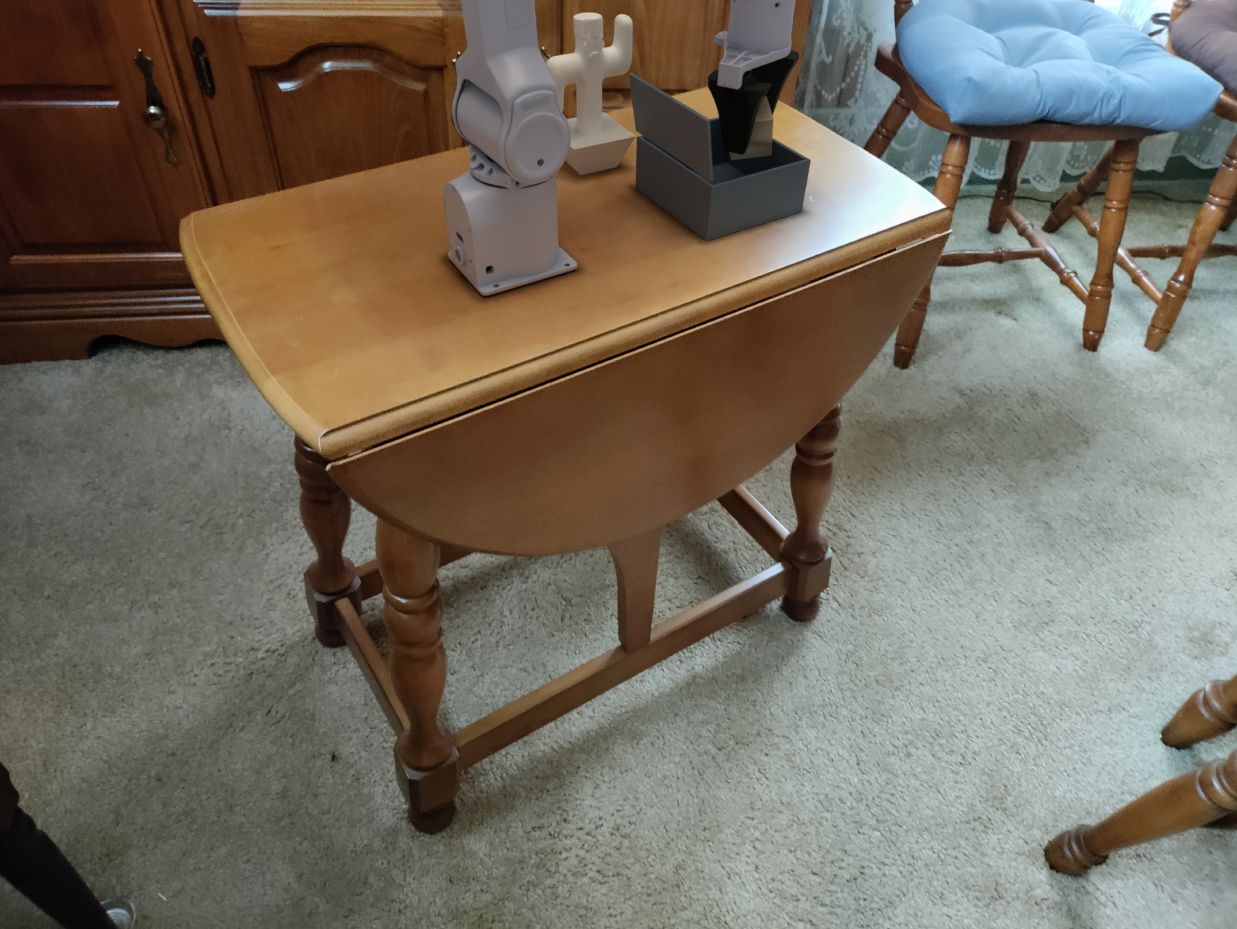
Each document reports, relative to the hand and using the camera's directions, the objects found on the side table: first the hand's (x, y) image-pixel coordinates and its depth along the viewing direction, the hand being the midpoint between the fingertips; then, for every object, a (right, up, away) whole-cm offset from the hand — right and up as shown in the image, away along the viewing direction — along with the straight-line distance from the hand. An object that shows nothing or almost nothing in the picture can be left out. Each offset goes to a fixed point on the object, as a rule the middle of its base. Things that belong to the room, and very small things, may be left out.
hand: (746, 139), depth 85 cm
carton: (-3, -5, +3) cm, 6 cm away
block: (0, -1, +1) cm, 1 cm away
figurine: (-16, 0, +9) cm, 18 cm away
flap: (-8, -1, -6) cm, 10 cm away
